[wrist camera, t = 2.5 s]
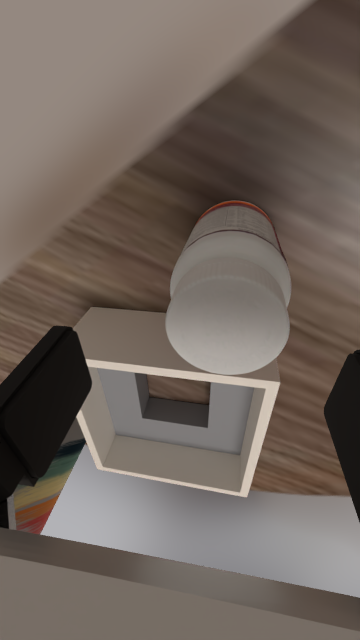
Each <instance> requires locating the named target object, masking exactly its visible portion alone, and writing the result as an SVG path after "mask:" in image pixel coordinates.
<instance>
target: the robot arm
mask: <svg viewBox="0 0 360 640" xmlns="http://www.w3.org/2000/svg"><path fill="white" fill-rule="evenodd" d="M91 387H92V379H91V376H90V372H89V369H88V366H87V363H86V360H85V356H84V353H83V350H82V347H81V343H80V340H79V337H78V334H77V332H76V331H74V330H73V328H72V327H67V326H53V327H52V328H51V329H50V330H49V331H48V333H47V334H46V335H45V336H44V337H43V338H42V339H41V340H40V341H39V343H38V344H37V345H36V346H35V347H34V348H33V349H32V350H31V351H30V352H29V354H28V355H27V356H26V357H25V358H24V359H23V360H22V361H21V362H20V364H19V365H18V366H17V367H16V368H15V369H14V370H13V371H12V372H11V374H10V375H9V376H8V377H7V378H6V379H5V380H4V381H3V382H2V383H1V385H0V640H360V598H358V597H353V596H349V595H344V594H339V593H334V592H329V591H324V590H319V589H314V588H309V587H304V586H299V585H294V584H289V583H284V582H279V581H274V580H269V579H264V578H260V577H254V576H250V575H244V574H240V573H235V572H230V571H225V570H219V569H214V568H209V567H204V566H198V565H194V564H189V563H184V562H179V561H174V560H168V559H163V558H158V557H153V556H148V555H143V554H138V553H132V552H128V551H123V550H118V549H112V548H107V547H102V546H97V545H92V544H86V543H81V542H76V541H71V540H65V539H60V538H55V537H50V536H45V535H39V534H34V533H29V532H24V531H18V530H16V520H15V508H14V496H13V493H14V491H15V489H16V488H17V486H18V484H19V485H25V486H31V487H34V486H35V485H36V483H37V481H38V479H39V478H41V477H43V476H44V475H45V474H46V472H47V470H48V468H49V466H50V465H51V463H52V461H53V459H54V457H55V455H56V453H57V452H58V450H59V448H60V446H61V444H62V442H63V440H64V439H65V437H66V435H67V433H68V431H69V429H70V427H71V426H72V424H73V422H74V420H75V418H76V416H77V414H78V413H79V411H80V409H81V407H82V405H83V403H84V401H85V400H86V398H87V396H88V394H89V392H90V390H91ZM324 415H325V419H326V422H327V425H328V428H329V431H330V434H331V437H332V440H333V443H334V446H335V449H336V452H337V455H338V458H339V461H340V464H341V467H342V470H343V473H344V476H345V479H346V482H347V485H348V488H349V491H350V494H351V497H352V501H353V504H354V507H355V510H356V513H357V516H358V518H359V522H360V350H356V351H355V352H354V353H353V354H349V355H348V357H347V359H346V361H345V363H344V365H343V367H342V369H341V372H340V374H339V376H338V378H337V380H336V382H335V385H334V387H333V389H332V391H331V393H330V395H329V397H328V400H327V402H326V404H325V407H324Z"/></svg>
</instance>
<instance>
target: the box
mask: <svg viewBox="0 0 360 640" xmlns="http://www.w3.org/2000/svg"><path fill="white" fill-rule="evenodd" d="M165 320H166V313H160V312H148V311H136V310H125V309H113V308H101V307H91V308H90V309H89V310H88V311H87V312H86V314H85V315H84V316H83V317H82V318H81V320H80V321H79V322H78V323H77V324H76V326H75V327H74V328H73V330H74V331H76V332H77V334H78V337H79V340H80V343H81V347H82V350H83V353H84V356H85V360H86V363H87V366H88V369H89V372H90V376H91V379H92V387H91V390H90V392H89V394H88V396H87V398H86V400H85V401H84V403H83V405H82V407H81V409H80V411H79V413H78V414H77V416H76V418H77V420H78V422H79V425H80V427H81V430H82V432H83V435H84V437H85V440H86V442H87V444H88V447H89V449H90V452H91V454H92V457H93V459H94V462H95V464H96V467H97V469H99V470H105V471H110V472H115V473H121V474H126V475H131V476H137V477H142V478H147V479H152V480H157V481H163V482H168V483H173V484H179V485H184V486H189V487H194V488H200V489H205V490H211V491H216V492H221V493H226V494H232V495H237V496H242V497H247V496H248V492H249V489H250V485H251V482H252V478H253V475H254V472H255V468H256V465H257V461H258V458H259V454H260V451H261V447H262V444H263V440H264V437H265V433H266V430H267V427H268V423H269V420H270V416H271V413H272V409H273V406H274V402H275V399H276V395H277V392H278V388H279V385H280V377H279V371H278V365H277V358H275V359H274V360H273V361H271V362H270V363H269V364H267V365H266V366H264V367H262V368H260V369H258V370H255V371H252V372H249V373H244V374H237V375H224V374H216V373H211V372H208V371H205V370H202V369H200V368H197V367H195V366H194V365H192V364H190V363H189V362H187V361H186V360H184V359H183V358H182V357H181V356H180V355H179V354H178V353H177V352H176V350H175V349H174V348H173V346H172V345H171V343H170V341H169V339H168V336H167V332H166V325H165ZM146 374H152V375H160V376H168V377H176V378H184V379H192V380H200V381H208V382H211V390H210V404H209V405H203V404H196V403H189V402H181V401H174V400H167V399H160V398H152V397H149V391H148V383H147V376H146Z"/></svg>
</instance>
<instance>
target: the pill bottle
mask: <svg viewBox="0 0 360 640" xmlns="http://www.w3.org/2000/svg"><path fill="white" fill-rule="evenodd" d="M170 295H171V301H170V304H169V306H168V309H167V313H166V320H165V325H166V332H167V336H168V339H169V341H170V343H171V345H172V346H173V348H174V349H175V350H176V352H177V353H178V354H179V355H180V356H181V357H182V358H183V359H184V360H186V361H187V362H189V363H190V364H192V365H194V366H195V367H197V368H200V369H202V370H205V371H208V372H211V373H216V374H224V375H237V374H244V373H249V372H252V371H255V370H258V369H260V368H262V367H264V366H266V365H267V364H269V363H270V362H271V361H273V360H274V359H275V358H276V357H277V356H278V355H279V354H280V353H281V351H282V350H283V348H284V346H285V344H286V343H287V340H288V336H289V331H290V323H289V316H288V312H287V306H288V304H289V301H290V296H291V279H290V274H289V269H288V265H287V262H286V259H285V257H284V255H283V252H282V250H281V247H280V244H279V241H278V238H277V235H276V232H275V229H274V227H273V225H272V222H271V220H270V219H269V217H268V216H267V215H266V214H265V213H264V211H262V210H261V209H260V208H258V207H257V206H255V205H254V204H251V203H249V202H245V201H239V200H232V201H226V202H222V203H219V204H217V205H215V206H213V207H211V208H210V209H208V210H207V211H206V212H205V213H204V214H203V215H202V216H201V217H200V218H199V220H198V221H197V223H196V224H195V226H194V228H193V230H192V232H191V234H190V237H189V239H188V241H187V243H186V245H185V247H184V248H183V251H182V253H181V255H180V257H179V259H178V261H177V263H176V265H175V268H174V270H173V273H172V277H171V282H170Z"/></svg>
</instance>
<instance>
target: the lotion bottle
mask: <svg viewBox="0 0 360 640" xmlns="http://www.w3.org/2000/svg"><path fill="white" fill-rule="evenodd" d="M85 443H86V440H85V437H84V435H83V432H82V430H81V427H80V425H79V422H78V420H77V418H75V420H74V422H73V424H72V426H71V427H70V429H69V431H68V433H67V435H66V437H65V439H64V440H63V442H62V444H61V446H60V448H59V450H58V452H57V453H56V455H55V457H54V459H53V461H52V463H51V465H50V466H49V468H48V470H47V472H46V474H45V475H44V476H43V477H41V478H39V479H38V481H37V483H36V485H35V486H34V487H31V486H25V485H19V484H18V486H17V488H16V489H15V491H14V493H13V496H14V508H15V520H16V530H18V531H24V532H29V533H34V534H39V535H40V533H41V531H42V530H43V527H44V525H45V524H46V521H47V519H48V517H49V515H50V513H51V511H52V509H53V507H54V505H55V503H56V501H57V499H58V497H59V495H60V493H61V491H62V489H63V487H64V485H65V483H66V481H67V479H68V477H69V475H70V473H71V471H72V469H73V467H74V464H75V462H76V461H77V459H78V456H79V454H80V453H81V450H82V449H83V447H84V445H85Z"/></svg>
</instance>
